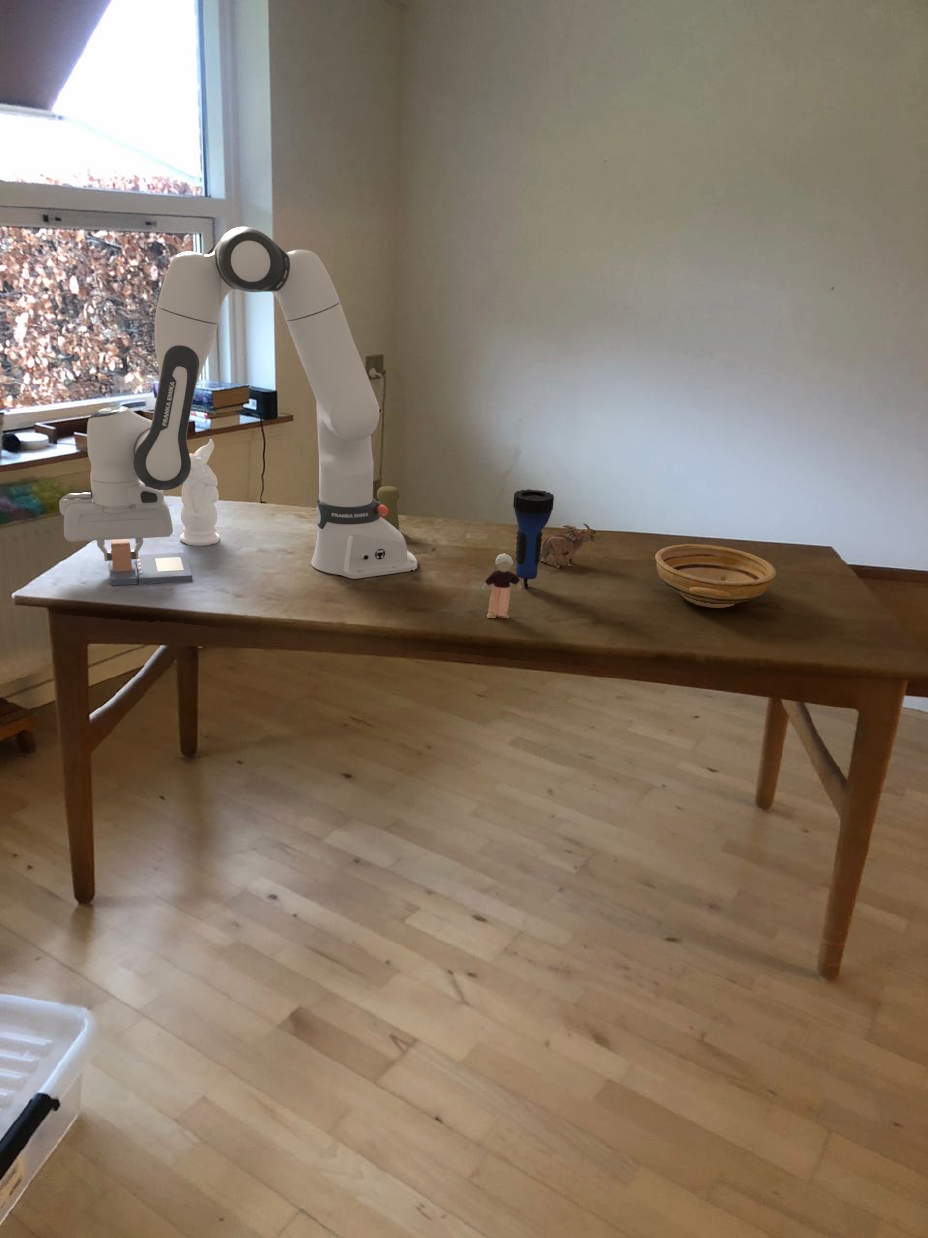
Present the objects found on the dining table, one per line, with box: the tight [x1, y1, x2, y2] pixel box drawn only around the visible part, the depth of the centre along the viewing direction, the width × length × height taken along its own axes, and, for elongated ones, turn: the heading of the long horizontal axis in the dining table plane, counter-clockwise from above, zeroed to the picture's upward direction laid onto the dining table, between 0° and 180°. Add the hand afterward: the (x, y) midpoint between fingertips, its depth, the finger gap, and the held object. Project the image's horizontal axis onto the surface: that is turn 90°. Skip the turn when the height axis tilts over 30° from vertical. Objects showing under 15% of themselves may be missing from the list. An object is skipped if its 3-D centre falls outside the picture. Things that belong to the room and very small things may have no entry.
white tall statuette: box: [179, 438, 221, 547], centre depth 210 cm, size 12×12×22 cm
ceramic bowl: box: [654, 543, 777, 604], centre depth 197 cm, size 30×24×8 cm
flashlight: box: [512, 488, 555, 589], centre depth 193 cm, size 8×8×20 cm
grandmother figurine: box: [480, 553, 522, 619], centre depth 180 cm, size 8×4×13 cm, turn 114°
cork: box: [376, 485, 400, 530], centre depth 224 cm, size 6×6×11 cm
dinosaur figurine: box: [539, 523, 597, 566], centre depth 211 cm, size 14×6×9 cm, turn 116°
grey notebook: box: [135, 552, 193, 585], centre depth 194 cm, size 10×14×1 cm
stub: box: [109, 539, 138, 586], centre depth 190 cm, size 5×14×6 cm, turn 20°
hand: (121, 559), depth 190 cm, fingers closed on stub, 3 cm apart
